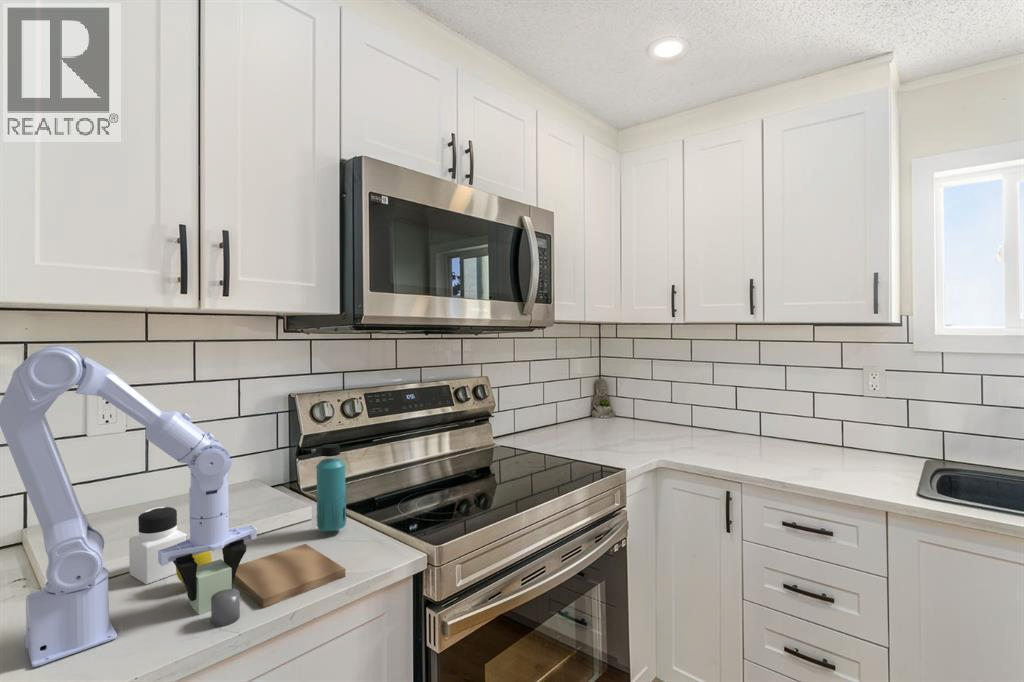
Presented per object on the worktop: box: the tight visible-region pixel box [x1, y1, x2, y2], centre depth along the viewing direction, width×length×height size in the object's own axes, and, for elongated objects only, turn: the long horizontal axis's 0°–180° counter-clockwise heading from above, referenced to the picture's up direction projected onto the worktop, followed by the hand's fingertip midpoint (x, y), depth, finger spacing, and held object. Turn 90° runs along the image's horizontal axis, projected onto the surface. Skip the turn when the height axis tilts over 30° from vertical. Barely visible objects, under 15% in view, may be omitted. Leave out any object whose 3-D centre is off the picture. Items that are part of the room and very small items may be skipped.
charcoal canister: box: [210, 588, 241, 628], centre depth 84 cm, size 4×4×4 cm
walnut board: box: [234, 543, 346, 609], centre depth 99 cm, size 15×16×2 cm
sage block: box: [188, 559, 233, 616], centre depth 89 cm, size 5×5×6 cm
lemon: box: [176, 551, 213, 584], centre depth 95 cm, size 6×6×8 cm
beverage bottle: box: [315, 443, 348, 532], centre depth 119 cm, size 6×7×20 cm
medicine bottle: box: [128, 506, 188, 585], centre depth 100 cm, size 7×7×12 cm
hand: (210, 592), depth 89 cm, fingers closed on sage block, 5 cm apart
